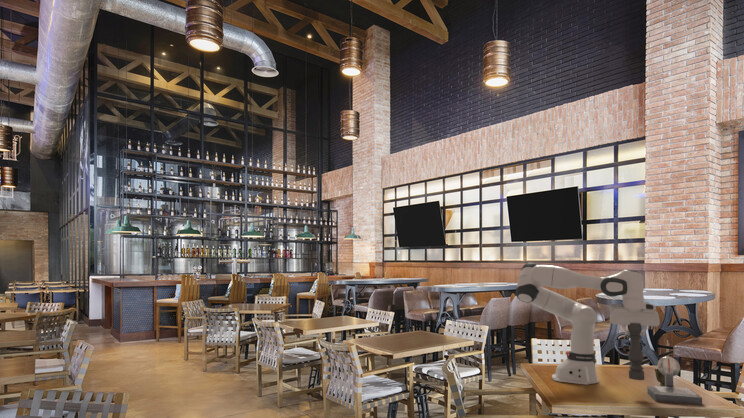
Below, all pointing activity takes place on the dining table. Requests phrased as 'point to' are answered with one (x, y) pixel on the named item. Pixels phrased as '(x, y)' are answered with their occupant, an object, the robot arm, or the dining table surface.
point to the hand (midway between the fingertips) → (634, 335)
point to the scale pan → (674, 391)
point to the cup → (660, 377)
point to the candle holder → (635, 352)
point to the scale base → (671, 383)
